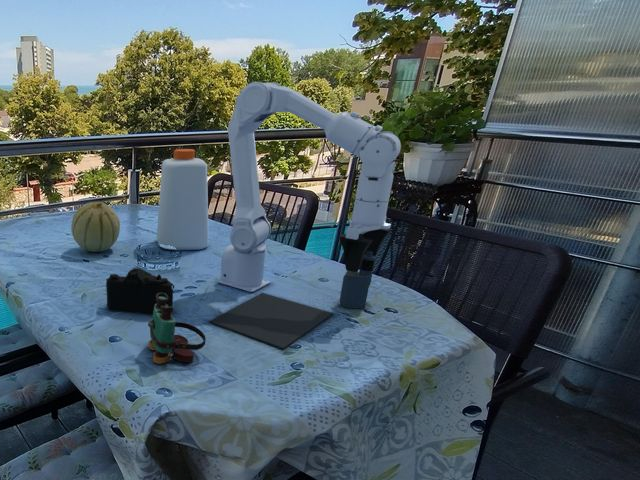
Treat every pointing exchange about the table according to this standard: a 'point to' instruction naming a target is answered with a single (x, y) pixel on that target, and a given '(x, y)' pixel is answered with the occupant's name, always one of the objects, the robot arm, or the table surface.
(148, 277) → the film camera
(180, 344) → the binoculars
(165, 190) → the plastic bottle
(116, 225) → the cantaloupe
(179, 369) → the table surface
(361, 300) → the vaping device
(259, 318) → the mat
